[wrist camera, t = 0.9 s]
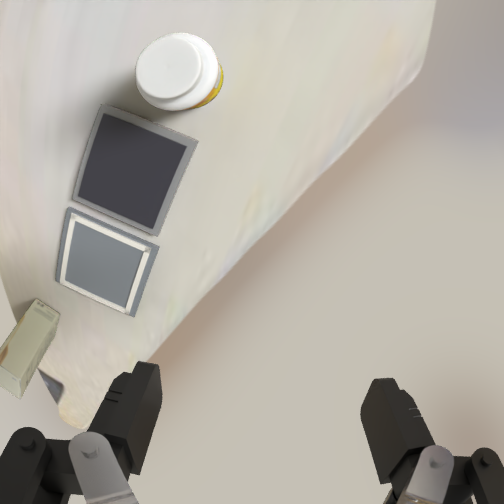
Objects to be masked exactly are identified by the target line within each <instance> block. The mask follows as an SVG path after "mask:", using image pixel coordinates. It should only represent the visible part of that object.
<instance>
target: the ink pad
mask: <svg viewBox="0 0 504 504" xmlns="http://www.w3.org/2000/svg"><path fill="white" fill-rule="evenodd" d="M198 142H199V141H198V140H195V139H193V138H191V137H188V136H186V135H184V134H181V133H179V132H176V131H174V130H172V129H169V128H167V127H164V126H162V125H159V124H157V123H154V122H152V121H149V120H147V119H144V118H142V117H139V116H137V115H134V114H131V113H129V112H126V111H123V110H121V109H118V108H115V107H113V106H110V105H107V104H101V106H100V109H99V112H98V114H97V117H96V120H95V123H94V125H93V128H92V131H91V134H90V137H89V140H88V144H87V147H86V150H85V153H84V157H83V160H82V163H81V167H80V170H79V174H78V178H77V182H76V186H75V190H74V194H73V198H72V199H73V200H76V201H78V202H80V203H82V204H84V205H87V206H89V207H91V208H93V209H96V210H98V211H100V212H102V213H105V214H107V215H109V216H111V217H114V218H116V219H118V220H120V221H123V222H125V223H127V224H129V225H132V226H134V227H136V228H139V229H141V230H143V231H145V232H148V233H150V234H152V235H155V236H157V237H158V235H159V233H160V231H161V229H162V226H163V224H164V221H165V219H166V216H167V214H168V211H169V209H170V206H171V204H172V201H173V199H174V196H175V194H176V192H177V189H178V187H179V185H180V182H181V180H182V178H183V175H184V173H185V171H186V169H187V166H188V164H189V162H190V160H191V157H192V155H193V153H194V151H195V149H196V147H197V144H198Z"/></svg>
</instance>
